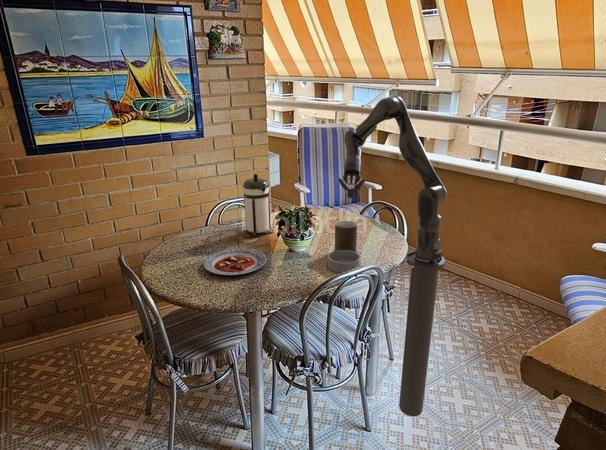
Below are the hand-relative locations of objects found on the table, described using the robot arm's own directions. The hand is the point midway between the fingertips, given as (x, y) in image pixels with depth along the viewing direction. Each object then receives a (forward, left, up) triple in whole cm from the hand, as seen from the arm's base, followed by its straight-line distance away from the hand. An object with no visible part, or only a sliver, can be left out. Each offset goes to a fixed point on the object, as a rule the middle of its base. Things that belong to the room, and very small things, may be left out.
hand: (350, 197), depth 190 cm
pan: (-19, +24, -21) cm, 37 cm away
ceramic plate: (+13, +56, -21) cm, 62 cm away
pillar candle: (-10, +14, -21) cm, 27 cm away
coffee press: (+39, +26, -21) cm, 52 cm away
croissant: (+19, +11, -21) cm, 31 cm away
